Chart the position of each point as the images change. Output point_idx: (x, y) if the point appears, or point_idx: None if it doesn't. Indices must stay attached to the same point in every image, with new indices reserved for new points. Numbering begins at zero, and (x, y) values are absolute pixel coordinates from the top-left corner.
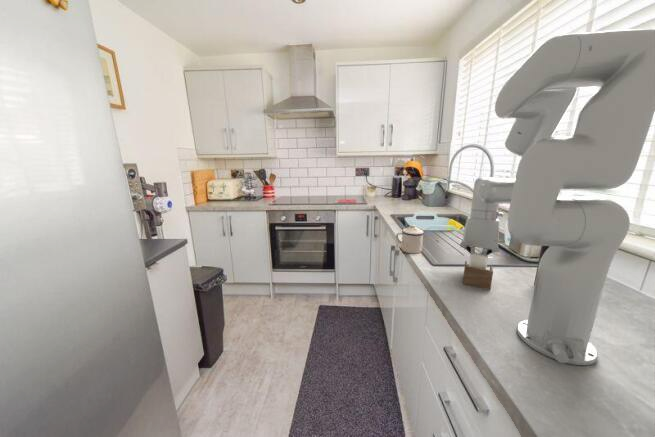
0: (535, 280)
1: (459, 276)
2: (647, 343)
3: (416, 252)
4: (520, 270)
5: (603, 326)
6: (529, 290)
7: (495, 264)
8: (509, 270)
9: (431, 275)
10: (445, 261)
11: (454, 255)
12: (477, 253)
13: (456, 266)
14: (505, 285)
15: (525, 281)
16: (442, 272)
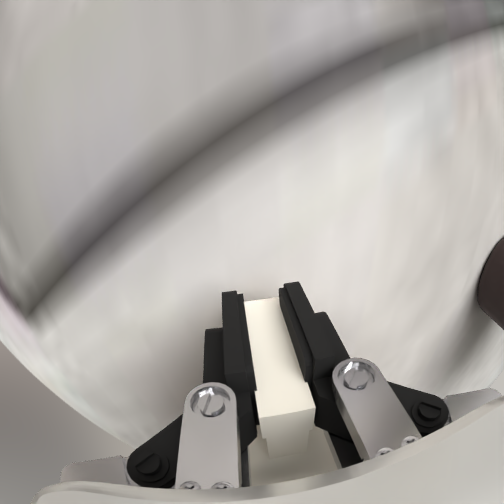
0: (495, 298)
1: (184, 382)
2: (495, 379)
3: None
4: (480, 94)
5: (481, 379)
6: (450, 327)
7: (377, 30)
8: (446, 116)
9: (95, 412)
10: (31, 202)
11: (62, 17)
12: (280, 480)
13: (114, 253)
14: (387, 346)
15: (472, 245)
16: (103, 377)
